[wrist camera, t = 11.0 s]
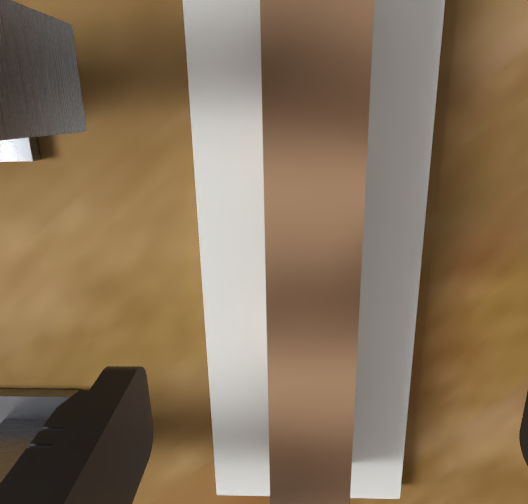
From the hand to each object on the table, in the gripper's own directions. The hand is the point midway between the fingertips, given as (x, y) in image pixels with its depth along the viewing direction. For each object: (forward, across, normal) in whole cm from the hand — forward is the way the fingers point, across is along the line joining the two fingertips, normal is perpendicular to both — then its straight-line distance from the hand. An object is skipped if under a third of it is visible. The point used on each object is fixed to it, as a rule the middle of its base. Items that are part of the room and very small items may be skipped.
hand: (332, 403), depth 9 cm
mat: (+10, 0, 0) cm, 10 cm away
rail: (+9, 0, 0) cm, 9 cm away
